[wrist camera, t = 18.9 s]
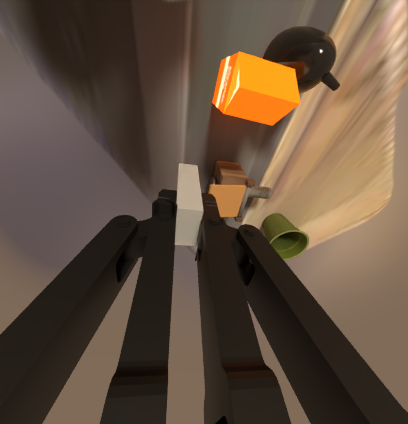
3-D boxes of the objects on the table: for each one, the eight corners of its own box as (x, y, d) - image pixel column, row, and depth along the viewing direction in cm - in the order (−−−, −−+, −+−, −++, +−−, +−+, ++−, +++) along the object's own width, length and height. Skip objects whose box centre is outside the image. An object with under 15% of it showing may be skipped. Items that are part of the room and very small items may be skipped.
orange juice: (249, 112, 43) (287, 134, 27) (211, 103, 42) (228, 120, 25) (262, 71, 39) (317, 67, 23) (221, 58, 37) (249, 44, 21)
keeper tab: (209, 184, 39) (211, 186, 38) (250, 184, 42) (252, 187, 41) (203, 215, 44) (204, 218, 43) (240, 213, 47) (242, 216, 46)
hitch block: (216, 159, 49) (224, 179, 39) (241, 162, 50) (255, 183, 40) (209, 194, 55) (214, 219, 45) (231, 196, 56) (241, 221, 46)
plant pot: (276, 200, 58) (294, 223, 49) (298, 219, 63) (317, 243, 54) (248, 224, 63) (258, 249, 54) (269, 240, 68) (283, 265, 59)
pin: (210, 172, 48) (212, 181, 44) (271, 180, 51) (279, 189, 46) (206, 190, 51) (208, 201, 47) (265, 197, 53) (271, 207, 49)
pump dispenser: (276, 106, 43) (313, 118, 31) (244, 71, 39) (272, 68, 26) (315, 61, 39) (376, 55, 27) (284, 16, 35) (340, -17, 22)
